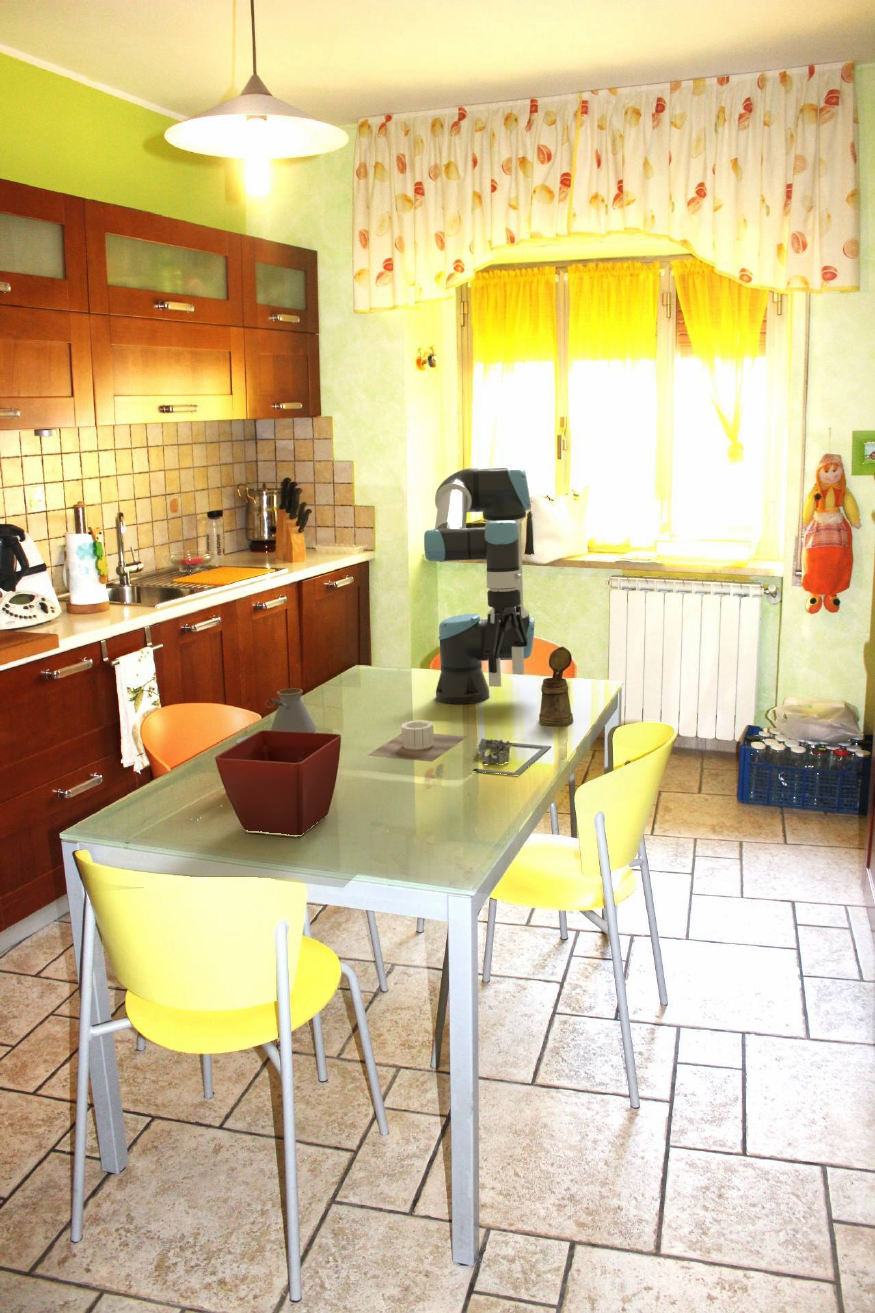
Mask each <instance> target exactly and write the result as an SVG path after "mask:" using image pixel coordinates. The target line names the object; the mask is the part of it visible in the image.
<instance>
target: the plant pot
mask: <svg viewBox="0 0 875 1313" xmlns="http://www.w3.org/2000/svg"><path fill="white" fill-rule="evenodd" d="M249 736H250V735H249ZM341 742H342V734H339V733H328V732H327V733H326V732H325V733H324V732H314V733H310V732H291V731H273V730H271V729H264V730H263V729H262V730H259V731H257V732H255V733H253V734H252V735H251V736H250V737H248V738H246V739H244V740H243V741H241V742H239V743H238V744H236V743H235V745H232V746H231V747H229V748H228V749H226V750H224V751H222V752H221V753H219V754H218V755H216V756H215V757H214V760H215V763H216V766H217V770H218V774H219V777H220V779H221V783H222V785H223V789H224V791H225V793H226V796H227V798H228V800H229V803H230V804H231V807H232V809H233V811H234V813H235V815H236V817H237V819H238V821H239V823H240V824H241V826H242V828H243V830H244V829H245V830H248V831H259V832H260V831H262V832H269V833H281V834H287V835H288V834H289V835H302V834H303V833H305V832H306V831H307V830H308V829H310V828H311V827H312V826H313V825H315V824H316V823H317V822H319V821H320V820H321V819H322V818H324V817H325V816H326V815H327V814H328V815H329V811H330V809H331V803H332V800H333V797H334V793H335V788H336V783H337V779H338V777H337V776H338V770H339V764H340V755H341ZM328 815H327V816H328ZM327 816H326V817H327ZM326 817H325V818H326ZM325 818H324V819H325ZM321 821H322V820H321ZM321 821H320V822H321ZM320 822H319V823H320ZM316 825H317V824H316ZM316 825H315V826H316ZM311 829H312V828H311ZM311 829H310V830H311ZM245 830H244V831H245ZM306 833H307V832H306ZM306 833H305V834H306Z"/></svg>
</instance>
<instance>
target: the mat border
mask: <svg viewBox="0 0 875 1313" xmlns="http://www.w3.org/2000/svg"><path fill="white" fill-rule="evenodd" d="M510 745H511V747H519V748H521V747H522V748H532V749H540V750H538V751H537V752H536V753H535V754H534V755H533V756H531V757H530V758H529V759H528V760H526V762H524V763H523V764H522V765H520V766H519V768H517V770H515V771H514V772H513V771H503V770H494V769H493V770H492V769H484V768H483V769H482V768H473V770H472V771H476V772H475V773H479V772H484V773H483V774H489V773H499V774H500V773H501V774H507V775H506V776H508V775H519V774H520V773H521V774H522V772H523V771H524V770H525V769H526V768H527V769H528V768H529V767H531V766H532V765H533V764H534V763H535V762H536V761H538V760H539V758H541V757H542V756H543V755H545V754H546V752H547V751H549V750H550V749H552V746H551V745H542V744H529V743H522V742H521V743H519V742H510ZM531 764H532V765H531ZM530 765H531V766H530ZM528 766H529V767H528ZM527 769H526V770H527ZM526 770H525V771H526ZM525 771H524V772H525ZM485 772H486V773H485ZM524 772H523V773H524ZM521 774H520V775H521ZM520 775H519V776H520Z"/></svg>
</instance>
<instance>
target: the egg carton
mask: <svg viewBox="0 0 875 1313" xmlns="http://www.w3.org/2000/svg"><path fill="white" fill-rule="evenodd" d="M510 743H511V741H509V740H506V741H503V739H499V740H498V739H491V738H490V739H486V738H484V737H482V738H481V739H480V742H479V744H478V747H477V748H476V752H477V753H478V756H479V758H478V759H480V760H481V759H482V760H484V761H483V762H482V763H483V764H482V765H484V764H489V765H491V764H490V763H493V764H496V763H498V764H497V765H499V764H504V763H505V762H509V761H510V754H509V753H510V750H511V748H512V746H511V745H510ZM487 748H489V751H490V753H489V754H488V755H486V752H487V750H486V749H487ZM492 753H493V754H492ZM504 765H505V764H504Z"/></svg>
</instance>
